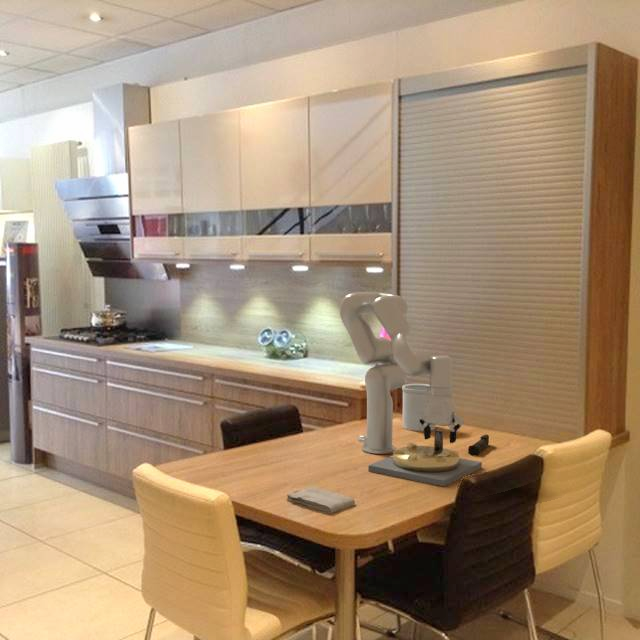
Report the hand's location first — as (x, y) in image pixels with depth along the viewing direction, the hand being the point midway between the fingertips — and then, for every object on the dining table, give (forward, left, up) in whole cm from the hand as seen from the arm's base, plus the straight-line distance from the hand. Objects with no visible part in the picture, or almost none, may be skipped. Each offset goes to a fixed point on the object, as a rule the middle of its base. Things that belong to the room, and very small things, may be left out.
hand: (439, 440), depth 267 cm
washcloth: (-8, -60, -9) cm, 61 cm away
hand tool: (+2, +28, -9) cm, 29 cm away
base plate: (0, -9, -8) cm, 12 cm away
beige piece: (0, -9, -6) cm, 11 cm away
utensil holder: (-33, +46, -9) cm, 58 cm away
